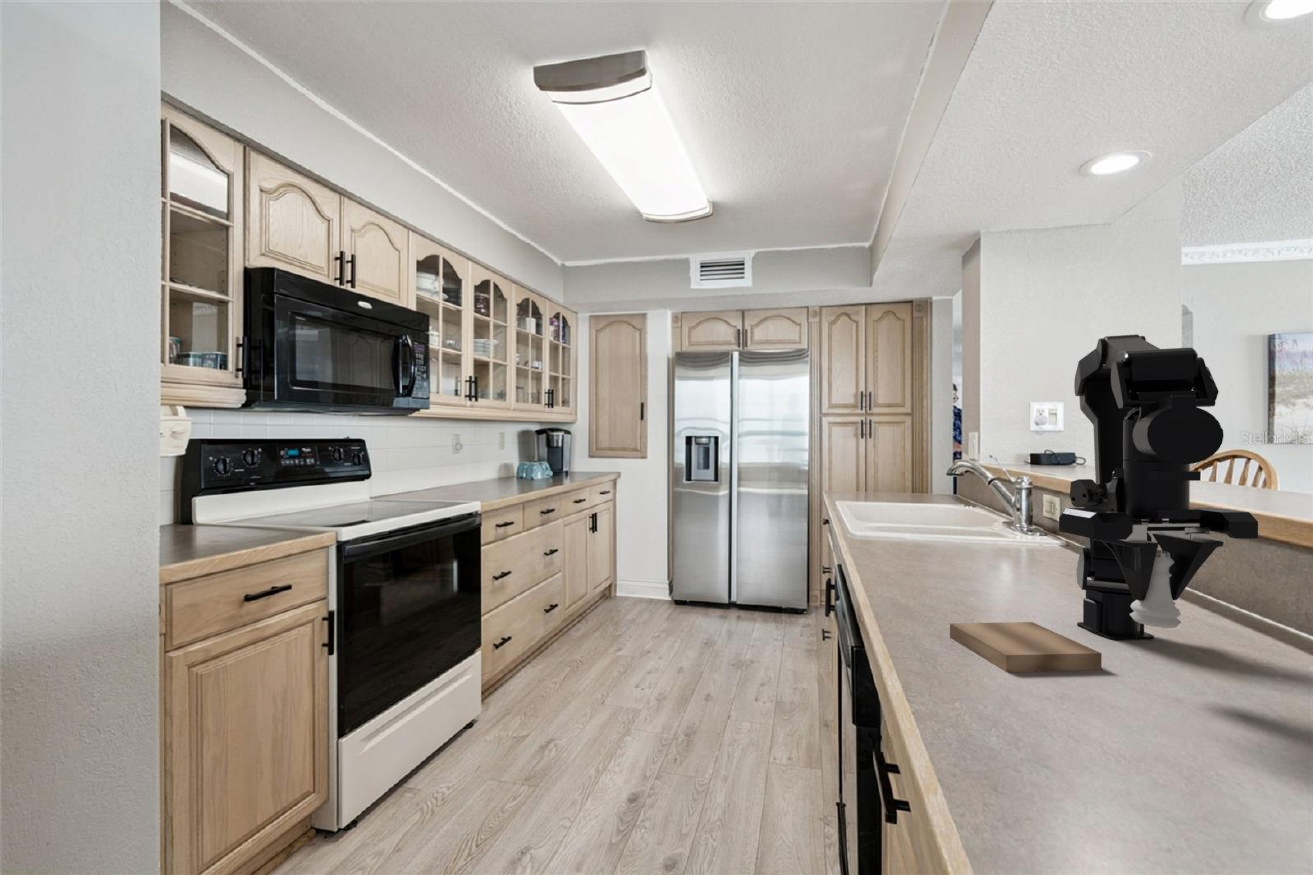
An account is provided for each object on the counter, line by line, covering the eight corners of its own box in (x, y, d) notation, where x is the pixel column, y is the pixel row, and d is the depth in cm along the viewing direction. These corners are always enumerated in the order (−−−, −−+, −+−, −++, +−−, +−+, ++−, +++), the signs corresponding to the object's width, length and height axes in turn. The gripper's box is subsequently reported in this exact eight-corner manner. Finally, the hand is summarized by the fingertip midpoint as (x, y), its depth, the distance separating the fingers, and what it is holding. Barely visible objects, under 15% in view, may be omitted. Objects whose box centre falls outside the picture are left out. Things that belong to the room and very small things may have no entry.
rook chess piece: (1169, 618, 68) (1169, 549, 68) (1190, 630, 63) (1190, 556, 63) (1122, 614, 69) (1122, 546, 69) (1139, 626, 65) (1140, 553, 65)
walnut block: (1032, 639, 83) (1032, 622, 83) (1101, 673, 71) (1101, 653, 71) (949, 641, 82) (950, 623, 82) (1006, 676, 71) (1006, 655, 71)
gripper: (1167, 458, 75) (1167, 581, 75) (1026, 458, 74) (1025, 583, 74) (1263, 462, 64) (1262, 606, 64) (1098, 462, 63) (1097, 609, 63)
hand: (1154, 599), depth 66 cm, fingers closed on rook chess piece, 3 cm apart
